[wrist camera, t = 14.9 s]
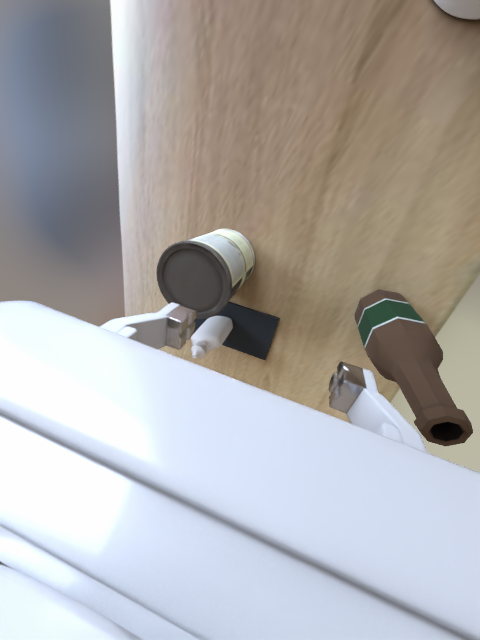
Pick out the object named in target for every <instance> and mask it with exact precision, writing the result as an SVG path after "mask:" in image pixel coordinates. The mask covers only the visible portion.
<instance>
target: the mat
mask: <svg viewBox="0 0 480 640" xmlns="http://www.w3.org/2000/svg"><path fill="white" fill-rule="evenodd" d="M215 316H225V317H228V318H230V319H231V320H232V324H233V329H232V330H231V332H230V333H229V335H228V336H227V338H226V339H225V341H224V342H223V344H222V345H224V346H227V347H230V348H233V349H235V350H238V351H241V352H244V353H247V354H249V355H252V356H255V357H258V358H261V359H264V360H265V359H266V356H267V353H268V351H269V348H270V345H271V342H272V339H273V336H274V333H275V330H276V327H277V324H278V321H279V318H277V317H274V316H271V315H268V314H265V313H262V312H259V311H256V310H253V309H250V308H247V307H243V306H240V305H237V304H234V303H231V302H228V303H227V305H226V306H225V307H224V308H223V310H222V311H221V312H219V313H218V314H217V315H215ZM207 319H208V318H206V319H195V320H194V322H195V324H196V325H195V330H194V333H195V332H196V331H197V330H198V328H199V327H200V326H201V325H202V324H203V323H204V322H205V321H206V320H207ZM194 333H193V334H194Z"/></svg>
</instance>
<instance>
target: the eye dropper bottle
mask: <svg viewBox="0 0 480 640" xmlns="http://www.w3.org/2000/svg"><path fill="white" fill-rule="evenodd" d="M232 329H233V324H232V320H231V319H230V318H228V317H225V316H213V317H210V318H208V319H207V320H206V321H205V322H204V323H203V324H202V325H201V326H200V327H199V328H198V330H197V331H196V332H195V333H194V334H193V335H192V337H191V340H192V344H193V347H192V348H191V352H192V354H193V355H192V357H193V358H196V357H198V358H202V357H203V356H204V355H205V354H206V352H207V351H210V350H214V349H217V348H219V347H220V346H221V345H222V344H223V342H224V341H225V339H226V338H227V336H228V335H229V333H230V332H231V330H232Z"/></svg>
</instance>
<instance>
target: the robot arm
mask: <svg viewBox="0 0 480 640" xmlns="http://www.w3.org/2000/svg"><path fill="white" fill-rule="evenodd" d="M434 2H435V3H436V4H437V5H438V6H439V7H440V8H441V9H442V10H444V11H445V12H447V13H448V14H450V15H452V16H455V17H458V18H463V19H480V0H434ZM196 317H197V312H196V311H195V310H193V309H190V308H187V307H184V306H182V305H179V304H176V303H173V302H171V303H170V304H168V305H167V306H166V307H164V308H163V309H161V310H160V311H159V312H157V313H149V314H142V315H136V316H130V317H124V318H118V319H112V320H110V321H108V322H107V323H105V324H104V325H102V326H100V327H98V326H96V325H93V324H90V323H88V322H85V321H83V320H80V319H77V318H75V317H72V316H69V315H67V314H64V313H61V312H59V311H56V310H54V309H51V308H48V307H46V306H44V305H41V304H39V303H36V302H32V301H6V302H0V640H480V473H479V472H476V471H474V470H471V469H468V468H466V467H463V466H460V465H458V464H455V463H452V462H450V461H447V460H445V459H442V458H439V457H437V456H434V455H432V454H429V453H428V452H427V450H426V448H425V445H424V442H423V440H422V437H421V435H420V434H419V433H418V432H417V431H416V430H415V429H414V428H413V427H412V426H411V425H410V423H409V422H408V421H407V420H406V419H405V418H404V417H403V416H402V415H401V414H400V413H399V412H398V411H397V410H396V409H395V408H394V407H393V406H392V405H391V404H390V403H389V402H388V401H387V400H386V399H385V397H384V396H383V395H382V394H379V393H378V389H377V386H376V382H375V379H374V375H373V372H372V371H370V370H367V369H363V368H360V367H357V366H354V365H351V364H347V363H344V362H340V363H339V365H338V367H337V372H336V373H334V374H333V376H332V378H331V380H330V383H329V391H330V393H331V395H330V396H329V406H330V407H331V408H334V409H336V410H339V411H341V412H344V413H346V415H347V417H348V418H349V420H350V422H351V423H352V424H351V423H348V422H346V421H343V420H341V419H338V418H335V417H333V416H330V415H328V414H325V413H322V412H320V411H317V410H315V409H312V408H309V407H307V406H304V405H302V404H299V403H296V402H294V401H291V400H288V399H286V398H283V397H281V396H278V395H275V394H273V393H270V392H268V391H265V390H262V389H260V388H257V387H255V386H252V385H249V384H247V383H244V382H242V381H239V380H236V379H234V378H231V377H229V376H226V375H223V374H221V373H218V372H215V371H213V370H210V369H208V368H205V367H202V366H200V365H197V364H195V363H192V362H189V361H187V360H184V359H182V358H179V357H176V356H174V355H171V354H169V353H166V352H163V351H161V350H158V349H159V348H161V347H164V346H165V345H167V346H169V347H172V348H175V349H178V350H180V349H181V348H182V347H183V346H184V344H185V343H186V340H188V339H190V338H191V337H192V335H193V333H194V330H195V325H196V324H195V322H194V320H195V319H196Z"/></svg>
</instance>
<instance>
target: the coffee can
mask: <svg viewBox="0 0 480 640" xmlns="http://www.w3.org/2000/svg"><path fill="white" fill-rule="evenodd" d="M254 265H255V256H254V251H253V249H252V246H251V244H250V243H249V241H248V240H247V239H246V238H245V237H244V236H243V235H242V234H240V233H239V232H236V231H234V230H230V229H220V230H216V231H214V232H212V233H209V234H206V235H203V236H200V237H197V238H194V239H191V240H188V241H181V242H178V243H175V244H173V245H171V246H169V247H168V248H167V249H166V250H165V251H164V252H163V254H162V255H161V257H160V259H159V262H158V265H157V281H158V285H159V288H160V291H161V293H162V295H163V296H164V298H165V299H166V301H167V302H168V303H169V304H170V303H171V302H173V303H176V304H179V305H182V306H184V307H187V308H190V309H193V310H195V311H196V312H197V317H196V319H206V318H210V317H213V316H215V315H217V314H218V313H219V312H221V311H222V310H223V308H224V307H225V306H226V305H227V303H228V301H229V300H230V299H231V298H232V296H233V295H234V294H235V293H236V292H237V291H238V289H239V288H240V287H241V286H242V285H243V284H244V282H245V281H246V280H247V279H248V278H249V277H250V276H251V274H252V272H253V269H254Z"/></svg>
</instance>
